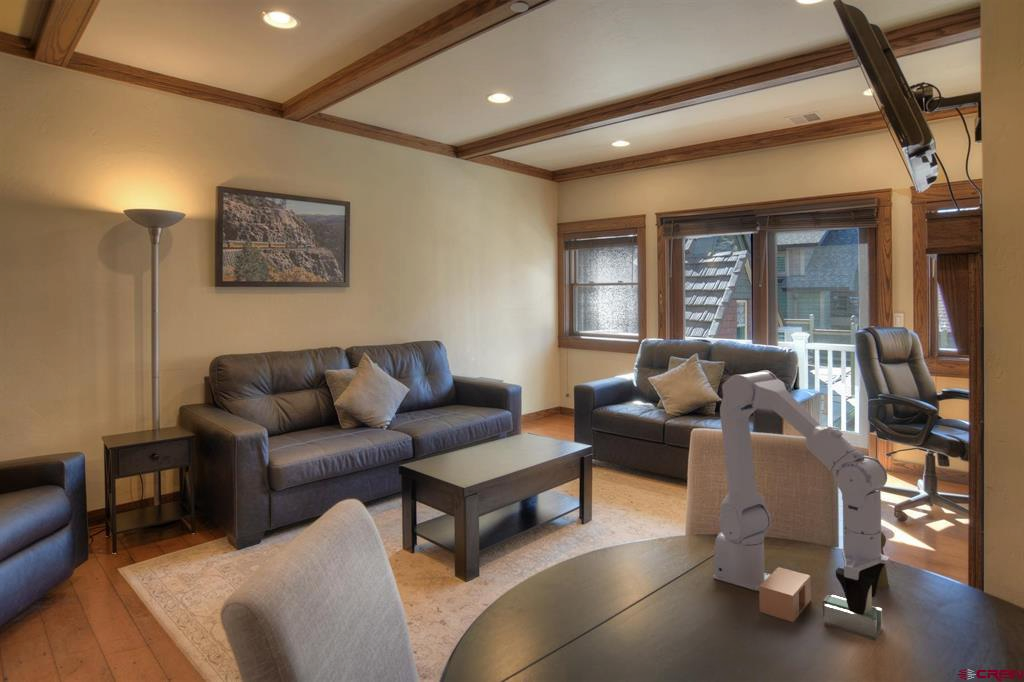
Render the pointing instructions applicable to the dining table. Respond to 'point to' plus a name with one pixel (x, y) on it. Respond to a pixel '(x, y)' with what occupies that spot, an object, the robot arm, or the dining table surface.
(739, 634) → the dining table surface
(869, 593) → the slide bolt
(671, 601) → the dining table surface
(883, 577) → the cork
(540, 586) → the dining table surface
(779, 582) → the socket block
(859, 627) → the grey u-channel
